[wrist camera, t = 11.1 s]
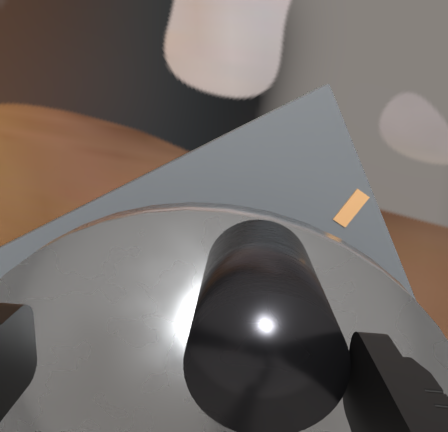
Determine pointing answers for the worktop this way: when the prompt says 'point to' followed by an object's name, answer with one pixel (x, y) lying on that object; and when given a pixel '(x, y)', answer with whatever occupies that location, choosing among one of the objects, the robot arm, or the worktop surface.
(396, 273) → the wheel base
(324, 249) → the handwheel
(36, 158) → the worktop surface
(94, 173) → the worktop surface
